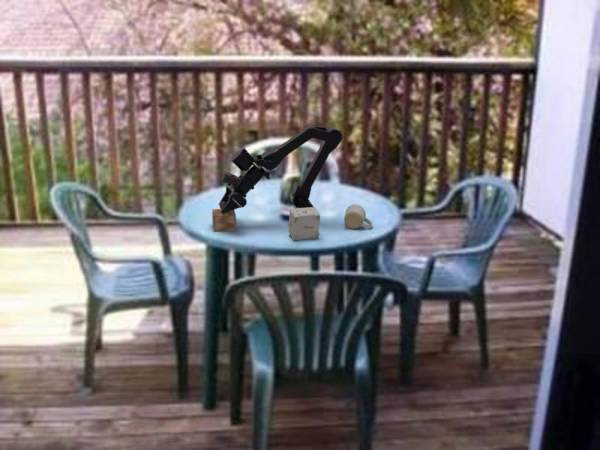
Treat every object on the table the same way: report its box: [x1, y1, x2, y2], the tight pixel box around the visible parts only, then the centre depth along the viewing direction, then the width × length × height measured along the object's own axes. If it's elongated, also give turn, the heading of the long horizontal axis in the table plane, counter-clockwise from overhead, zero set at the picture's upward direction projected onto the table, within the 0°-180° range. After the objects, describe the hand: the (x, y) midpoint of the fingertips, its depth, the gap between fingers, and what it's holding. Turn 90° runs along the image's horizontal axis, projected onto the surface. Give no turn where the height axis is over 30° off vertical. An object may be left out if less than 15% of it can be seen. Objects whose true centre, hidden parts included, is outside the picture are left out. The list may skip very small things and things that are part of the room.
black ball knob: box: [218, 201, 227, 209], centre depth 277 cm, size 6×6×9 cm
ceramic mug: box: [343, 204, 374, 230], centre depth 281 cm, size 11×8×8 cm
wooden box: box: [211, 208, 237, 232], centre depth 277 cm, size 8×8×6 cm
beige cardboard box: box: [288, 206, 321, 242], centre depth 268 cm, size 10×8×10 cm
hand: (220, 209), depth 276 cm, fingers open, 9 cm apart
